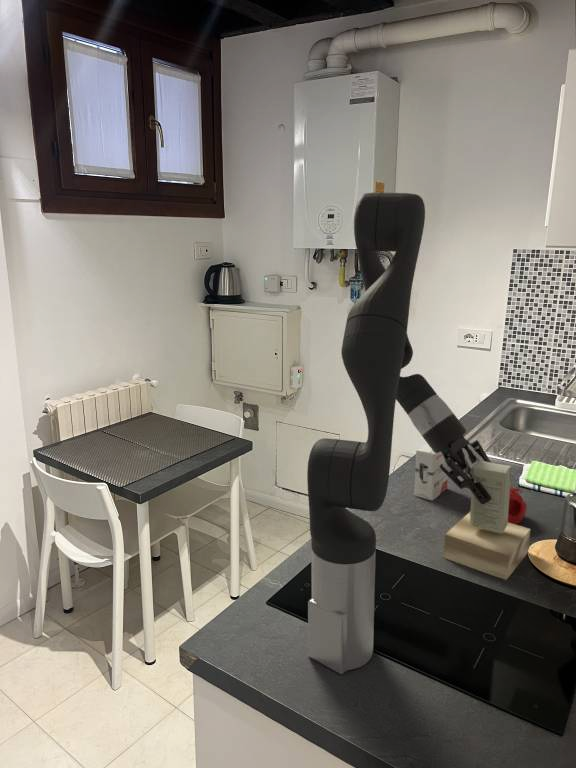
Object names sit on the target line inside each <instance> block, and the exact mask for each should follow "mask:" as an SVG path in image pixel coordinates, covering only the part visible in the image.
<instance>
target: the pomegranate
mask: <svg viewBox="0 0 576 768" xmlns="http://www.w3.org/2000/svg"><path fill="white" fill-rule="evenodd" d="M519 492H520V493H523V491H522V490H521V489H520V488H515V487H511V486H510V495H509V510H508V522H509V523H512V524H515V525H519V523H521V521H523V520H524V517H525V516H526V513H527V509H528V506H527V502H525V501H524V500H523V496H522V495H521V494H520V493H519Z"/></svg>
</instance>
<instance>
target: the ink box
mask: <svg viewBox="0 0 576 768" xmlns="http://www.w3.org/2000/svg"><path fill="white" fill-rule="evenodd" d="M444 461H445V459H444V456H443V454H442V453H441V452H439V453H434V451H433V450H432V449H431V447H430V446H429V445H428V443H427V442H426V443H425V444H424V445H423V446H421V447H420V448H418V449H417V450H416V451H415V470H414V471H415V473H414V496H415V497H418V498H422V499H425V500H429V501H433V500H435V499H437V497H438V496H440V495H441V494H442V493H443V492H445V491H446V490H447V489H448V478H449V477H448V476H447V475H446V474H445V473H444V472H443V471H442V470H441V468H440V465H441V464H442V463H444Z"/></svg>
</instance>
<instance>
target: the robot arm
mask: <svg viewBox="0 0 576 768" xmlns="http://www.w3.org/2000/svg"><path fill="white" fill-rule="evenodd" d="M425 221H426V206H425V202H424V199H423V198H422V197H421V196H420V195H419V194H415V193H408V192H365V193H363V194H362V195H360V197H359V198H358V200H357V202H356V206H355V210H354V216H353V232H354V233H353V234H354V241H355V242H354V243H355V247H356V253H357V258H358V259H357V260H358V264H359V268H360V274H361V277H362V283H363V286H364V293H363V294H362V295H360V297H359V298H358V299H357V300H356V301H355V303H354V304H353V305H352V307H351V309H350V310H349V312H348V315H347V317H346V323H345V327H344V328H345V329H344V333H343V339H342V345H341V359H342V362H343V365H344V369H345V371H346V373H347V375H348V377H349V379H350V381H351V383H352V385H353V388H354V389H355V391H356V394H357V396H358V397H359V400H360V401H361V405H362V407H363V410H364V413H365V416H366V417H365V418H366V422H367V430H368V431H367V440H366V441H365V442H364V441H357V440H347V439H339V438H338V439H336V438H328V437H327V438H320V439H318V440H317V441H315V443H314V444H313V445H312V448H311V450H310V452H309V455H308V456H309V457H308V462H307V471H306V473H307V474H306V475H307V497H308V498H307V499H308V511H309V512H308V513H309V533H310V539H311V598H310V599H309V600H308V601H307V633H308V634H307V637H308V638H307V639H308V642H307V643H308V645H307V648H308V651H307V653H308V655H307V656H308V657H309V658H311V659H313V660H315V661H317V662H318V663H320V664H321V665H323V666H326V667H327V668H329V669H330V670H333V671H334V672H336V673H338V674H340V675H343V674H345V672H348V671H350V670H356V669H358V668H361V667H363V666H365V665H366V664H368V662H369V661H370V660H371V658H372V657H373V653H374V631H375V630H374V625H375V621H374V620H375V618H374V617H375V588H376V587H375V585H376V583H375V582H376V581H375V580H376V554H377V553H376V549H377V536H376V531H375V529H374V527H373V526H372V525H371V524H370V523H369V522H368V521H367V520H365V519H364V518H361V517H360V516H358V515H356V514H355V513H353V512H352V511H351V510H356V511H357V510H358V511H365V512H376V511H378V510H380V509H381V507H383V505H384V501H385V498H386V496H387V493H388V492H387V491H388V485H389V479H390V470H391V468H390V467H391V460H392V444H393V434H394V422H395V421H394V420H395V409H396V402H398V404H399V405H400V406H401V408H402V409H403V411H404V412H405V413H406V415H408V417H409V419H410V421H411V423H412V424H413V427H415V429H416V430H417V432H418V433H419V434H420V435H421V437H422V438H423V440H424V441H425V442H426V444H427V443H428V445H429V446H430V447H431V449H432V450H433V451H434V453H439V452H441V453H442V454H443V456H444V459H445V461H444V463H442V464H441V465H440V468H441V470H442V471H443V472H444V473H445V474H446V475H447V476H448V478H449V479H450V480H451V481H452V482H453V483H454V484H455V485H456V486H457V487H458V488H459V489H460V490H463V489H465V488H466V489H468V490H470V492H472V493H473V494H474V495H475V497H476V498H477V499H478V501H479V502H480V503H481V504H485V503H487V502H488V501H490V500H491V496H490V495H489V494H488V492H487V491H486V490H485V488H484V487H483V486H482V484H481V483H480V482H479V483H478V479H477V477H476V476H475V475H474V473H473V466H474V465H475V464H476V463H477V462H478V461H479V460H480V461H486V462H491V460H490V459H489V456H488V454H487V453H486V451H485V450H484V448H483V446H482V445H481V442H480V441H479V440H477V439H475V440H474V441H473V442H470V441H468V440H467V439H466V438H465V437H464V436H465V435H466V434H467V429H466V427H465V426H464V425H463V424H462V423H461V421H460V420H459V419H458V417H457V416H456V415H455V413H454V412H453V410H452V409H451V408H450V407H449V405H448V404H447V403H446V402H445V401H444V400H443V399H442V398H441V397H440V395H438V394H437V392H436V391H435V390H434V388H433V387H432V385H431V384H430V383H429V381H427V379H426V378H425V377H424V376H423V375H422V374H421V373H415V374H412V375H408V376H401V372H402V370H403V369H404V368H405V367H407V366H408V365H410V362H411V361H412V359H413V355H414V350H413V347H412V345H411V341H410V339H409V336H408V325H409V316H410V307H411V297H412V288H413V282H414V277H415V272H416V267H417V264H418V257H419V254H420V249H421V243H422V238H423V233H424V228H425ZM378 252H394V255H393V257H392V259H391V262H390V263H389V264H388V266H387V267H386V268H385V266H384V264H383V263H382V261H381V259H380V256H379V253H378ZM349 509H350V510H349Z"/></svg>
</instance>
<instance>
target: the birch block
mask: <svg viewBox="0 0 576 768" xmlns="http://www.w3.org/2000/svg"><path fill="white" fill-rule="evenodd" d="M530 537H531V528H529V527H525V526H522V525H519V524H516V525H515V524H512V523H509V522H508V524H507V527H506V528H505V530H504V532H503V533H497V532H493V531H489V530H485V529H480V528H476V527H472V526H470V511H469V512H468V513H466V515H464V516H463V518H461V519H460V520H459V521H458V522H457V523H456V524H455V525H454V526H452V528H450V529H449V530H448V531H447V532H446V533H445V534H444V548H443V549H444V550H443V558H444V559H446V560H449V561H453V562H455V563H457V564H459V565H463V566H466V567H468V568H471V569H474V570H477V571H479V572H483V573H485V574H488V575H491V576H494V577H496V578H499V579H501V580H504V581H507V580H508V578H509V577H511V575H512V573H514V571H515V570H516V569H517V567H518V566H519V565H520V564H521V562H522V561H523V560H524V558H525V557H526V556H527V554H528V553H529V547H530V541H531V540H530Z"/></svg>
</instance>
